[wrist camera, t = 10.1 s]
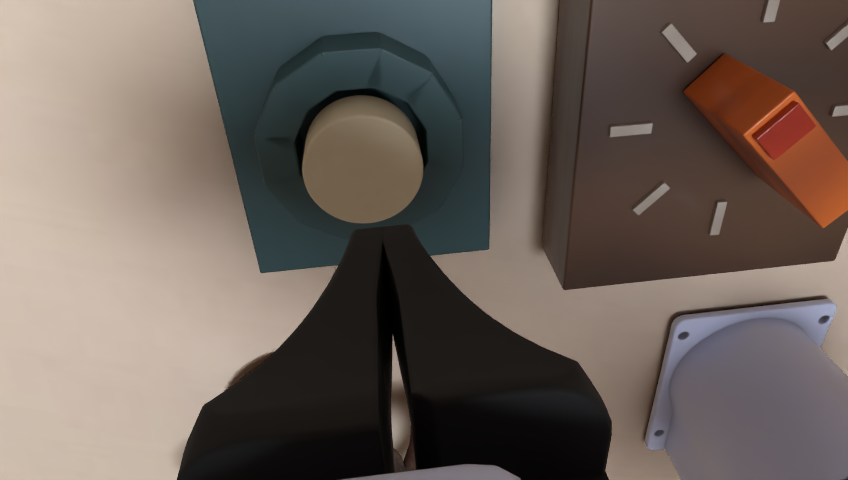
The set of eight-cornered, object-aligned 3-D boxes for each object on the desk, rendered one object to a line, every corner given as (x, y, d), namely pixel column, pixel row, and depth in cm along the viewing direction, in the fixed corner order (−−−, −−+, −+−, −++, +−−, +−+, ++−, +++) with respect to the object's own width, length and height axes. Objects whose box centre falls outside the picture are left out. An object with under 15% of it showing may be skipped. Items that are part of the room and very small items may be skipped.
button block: (483, 233, 25) (499, 277, 22) (263, 256, 24) (254, 303, 22) (485, -62, 19) (506, -48, 16) (192, -41, 18) (168, -24, 16)
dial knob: (797, 144, 21) (878, 196, 17) (757, 176, 21) (828, 233, 18) (724, 52, 19) (801, 93, 15) (681, 91, 19) (747, 139, 16)
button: (421, 192, 20) (426, 218, 19) (314, 202, 20) (312, 230, 19) (414, 89, 18) (420, 109, 17) (296, 99, 18) (292, 121, 17)
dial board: (789, 222, 26) (838, 263, 24) (541, 248, 26) (564, 293, 23) (904, -126, 19) (993, -122, 17) (566, -103, 18) (602, -95, 16)
